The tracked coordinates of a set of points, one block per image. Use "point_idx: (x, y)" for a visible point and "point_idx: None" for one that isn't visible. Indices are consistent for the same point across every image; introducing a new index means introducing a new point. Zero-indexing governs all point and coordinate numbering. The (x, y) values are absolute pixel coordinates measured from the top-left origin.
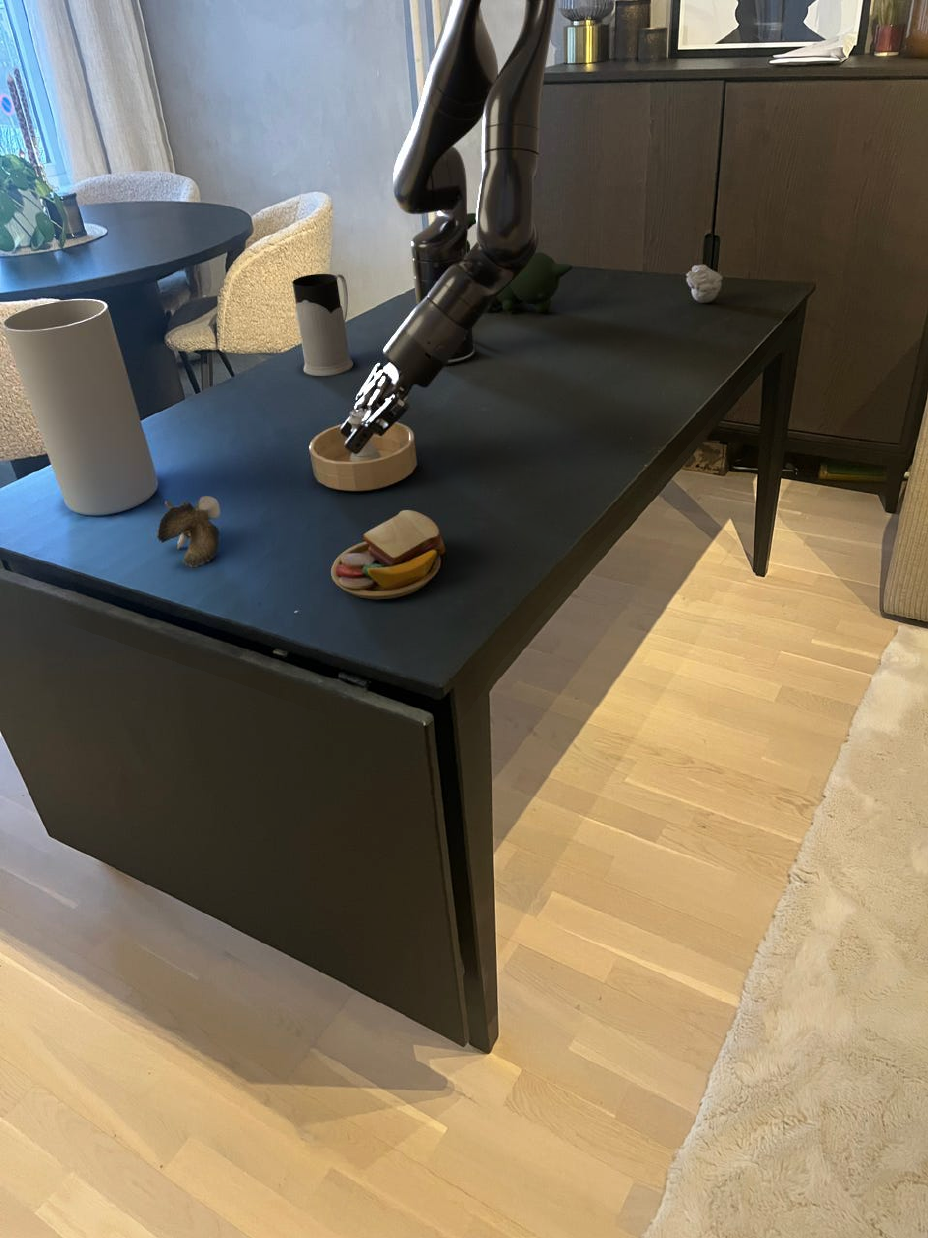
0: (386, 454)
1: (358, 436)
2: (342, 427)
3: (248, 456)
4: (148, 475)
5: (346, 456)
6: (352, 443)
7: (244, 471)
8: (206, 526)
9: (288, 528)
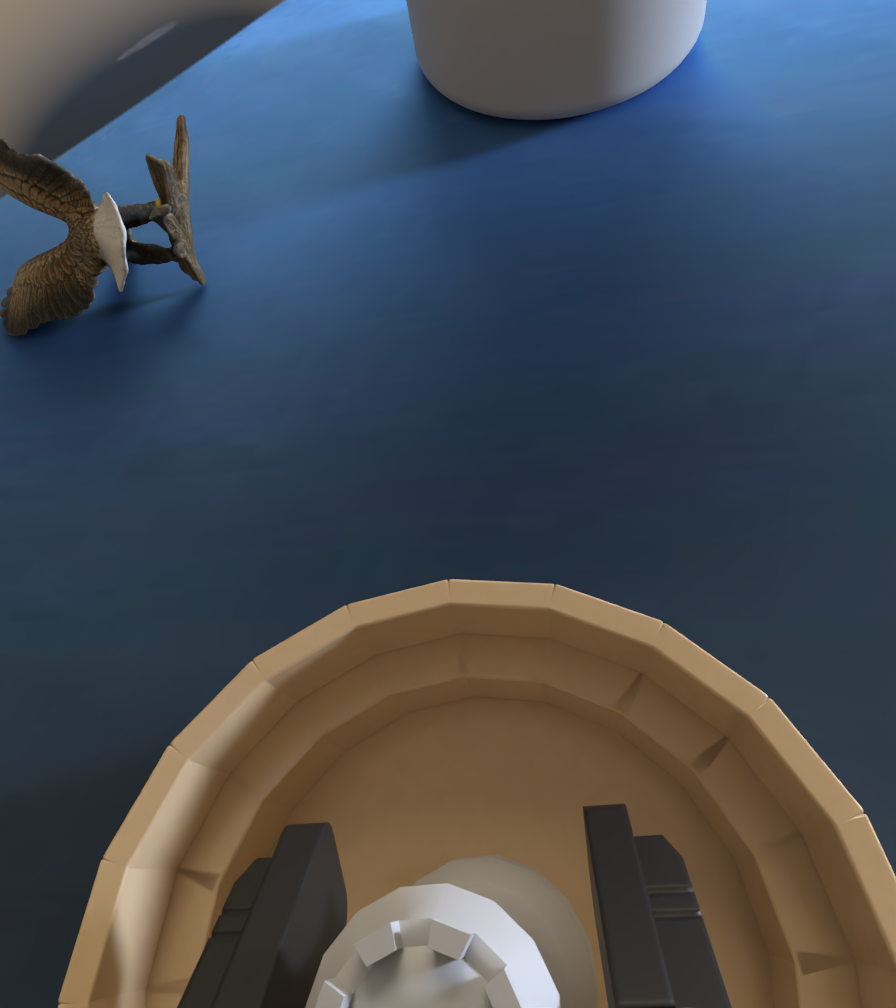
0: None
1: (204, 961)
2: (590, 825)
3: (820, 341)
4: (503, 47)
5: (686, 841)
6: (232, 888)
7: (653, 344)
8: (66, 267)
9: (72, 539)
